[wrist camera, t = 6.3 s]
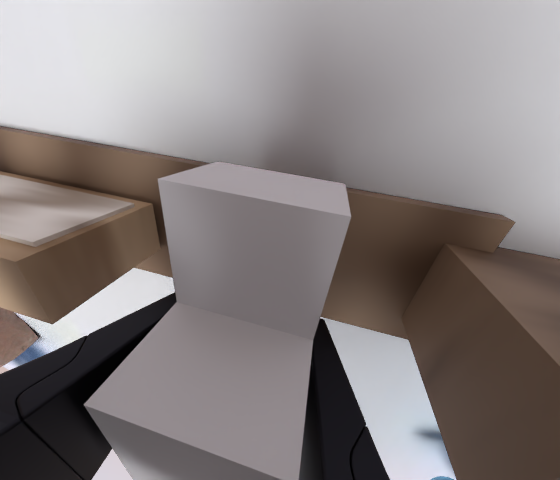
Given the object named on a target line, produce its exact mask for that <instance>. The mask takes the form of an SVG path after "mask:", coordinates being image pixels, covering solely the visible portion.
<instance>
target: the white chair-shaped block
mask: <svg viewBox="0 0 560 480" xmlns="http://www.w3.org/2000/svg"><path fill="white" fill-rule="evenodd" d="M158 185H159V191H160V198H161V204H162V211H163V217H164V223H165V230H166V236H167V243H168V249H169V255H170V262H171V268H172V275H173V281H174V288H175V294H176V300H177V302H176V303H175V304H174V306H173V307H172V308H171V309H170V310H169V311H168V312H167V313H166V314H165V315H164V317H163V318H162V319H161V320H160V321H159V322H158V323H157V324H156V325H155V327H154V328H153V329H152V330H151V331H150V332H149V333H148V334H147V335H146V336H145V338H144V339H143V340H142V341H141V342H140V343H139V344H138V345H137V346H136V347H135V349H134V350H133V351H132V352H131V353H130V354H129V355H128V356H127V357H126V359H125V360H124V361H123V362H122V363H121V364H120V365H119V366H118V367H117V368H116V370H115V371H114V372H113V373H112V374H111V375H110V376H109V377H108V378H107V380H106V381H105V382H104V383H103V384H102V385H101V386H100V387H99V388H98V389H97V391H96V392H95V393H94V394H93V395H92V396H91V397H90V398H89V399H88V400H87V402H86V403H85V404H84V406H85V408H86V409H87V411H88V412H89V414H90V415H91V417H92V418H93V420H94V421H95V423H96V424H97V426H98V427H99V429H100V430H101V432H102V433H103V435H104V436H105V438H106V439H107V441H108V442H109V444H110V445H111V447H112V448H113V450H114V451H115V453H116V454H117V456H118V457H119V459H120V460H121V462H122V464H123V465H124V467H125V468H126V470H127V471H128V473H129V474H130V476H131V477H132V479H133V480H299V472H300V462H301V453H302V443H303V433H304V424H305V414H306V404H307V395H308V385H309V375H310V365H311V356H312V346H313V339H314V336H315V332H316V329H317V326H318V323H319V320H320V316H321V313H322V310H323V307H324V303H325V300H326V297H327V294H328V290H329V287H330V284H331V281H332V277H333V274H334V271H335V268H336V265H337V261H338V258H339V255H340V252H341V248H342V245H343V242H344V239H345V235H346V232H347V229H348V226H349V222H350V219H351V213H350V207H349V201H348V196H347V190H346V185H345V184H344V183H338V182H333V181H327V180H321V179H316V178H310V177H304V176H298V175H293V174H287V173H281V172H276V171H270V170H264V169H259V168H253V167H247V166H242V165H236V164H230V163H224V162H219V161H217V162H214V163H210V164H207V165H203V166H200V167H197V168H193V169H190V170H186V171H183V172H179V173H176V174H173V175H169V176H166V177H162V178H159V179H158Z"/></svg>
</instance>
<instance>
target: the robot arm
mask: <svg viewBox="0 0 560 480" xmlns="http://www.w3.org/2000/svg"><path fill="white" fill-rule="evenodd" d="M176 302H177V300H176V294H175V293H173V294H171V295H168V296H166V297H164V298H162V299H160V300H158V301H156V302H154V303H152V304H150V305H148V306H146V307H144V308H142V309H140V310H138V311H136V312H134V313H132V314H129V315H127V316H125V317H123V318H121V319H119V320H117V321H115V322H113V323H111V324H109V325H107V326H105V327H103V328H101V329H99V330H97V331H95V332H92V333H90V334H89V335H88V336H84V337H82V338H80V339H78V340H76V341H74V342H72V343H70V344H68V345H65V346H63V347H61V348H59V349H57V350H55V351H53V352H50V353H48V354H46V355H44V356H41V357H39V358H37V359H35V360H32V361H30V362H28V363H25V364H23V365H21V366H18V367H16V368H14V369H11V370H9V371H6V372H4V373H2V374H0V480H91V479H92V478H93V476H94V475H95V473H96V472H97V471H98V469H99V468H100V466H101V464H102V463H103V461H104V460H105V459H106V457H107V456H108V454H109V453H110V451H111V449H112V447H111V445H110V444H109V442H108V441H107V439H106V438H105V436H104V435H103V433H102V432H101V430H100V429H99V427H98V426H97V424H96V423H95V421H94V420H93V418H92V417H91V415H90V414H89V412H88V411H87V409H86V408H85V406H84V404H85V403H86V402H87V400H88V399H89V398H90V397H91V396H92V395H93V394H94V393H95V392H96V391H97V389H98V388H99V387H100V386H101V385H102V384H103V383H104V382H105V381H106V380H107V378H108V377H109V376H110V375H111V374H112V373H113V372H114V371H115V370H116V368H117V367H118V366H119V365H120V364H121V363H122V362H123V361H124V360H125V359H126V357H127V356H128V355H129V354H130V353H131V352H132V351H133V350H134V349H135V347H136V346H137V345H138V344H139V343H140V342H141V341H142V340H143V339H144V338H145V336H146V335H147V334H148V333H149V332H150V331H151V330H152V329H153V328H154V327H155V325H156V324H157V323H158V322H159V321H160V320H161V319H162V318H163V317H164V315H165V314H166V313H167V312H168V311H169V310H170V309H171V308H172V307H173V306H174V304H175V303H176ZM299 480H390V479H389V477H388V475H387V472H386V470H385V468H384V466H383V463H382V461H381V459H380V456H379V454H378V452H377V449H376V447H375V444H374V442H373V440H372V437H371V435H370V432H369V430H368V427H366V422H365V420H364V417H363V415H362V412H361V410H360V407H359V405H358V402H357V400H356V397H355V395H354V392H353V390H352V387H351V385H350V382H349V380H348V378H347V375H346V373H345V370H344V368H343V365H342V363H341V360H340V358H339V355H338V353H337V350H336V348H335V345H334V343H333V340H332V338H331V335H330V333H329V330H328V328H327V325H326V323H325V321H324V320H323V319H321V318H320V320H319V323H318V326H317V329H316V332H315V336H314V339H313V346H312V356H311V365H310V375H309V385H308V395H307V404H306V414H305V424H304V433H303V443H302V453H301V462H300V472H299Z"/></svg>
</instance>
